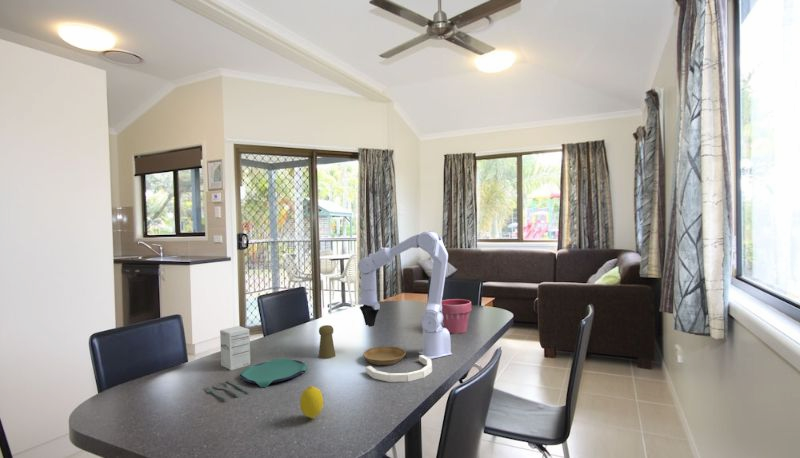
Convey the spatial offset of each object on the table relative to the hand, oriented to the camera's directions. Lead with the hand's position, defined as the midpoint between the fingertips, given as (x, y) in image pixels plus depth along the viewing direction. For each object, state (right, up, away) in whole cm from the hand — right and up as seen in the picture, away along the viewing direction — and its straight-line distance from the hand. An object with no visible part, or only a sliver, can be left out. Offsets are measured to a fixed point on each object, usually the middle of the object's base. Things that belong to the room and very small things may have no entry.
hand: (369, 325), depth 152 cm
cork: (-15, -10, -5) cm, 19 cm away
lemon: (-10, -11, -52) cm, 54 cm away
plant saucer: (+6, -10, -10) cm, 16 cm away
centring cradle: (+13, -9, -24) cm, 28 cm away
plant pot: (+35, -8, +23) cm, 43 cm away
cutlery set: (-33, -12, -25) cm, 43 cm away
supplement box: (-45, -11, -12) cm, 48 cm away
